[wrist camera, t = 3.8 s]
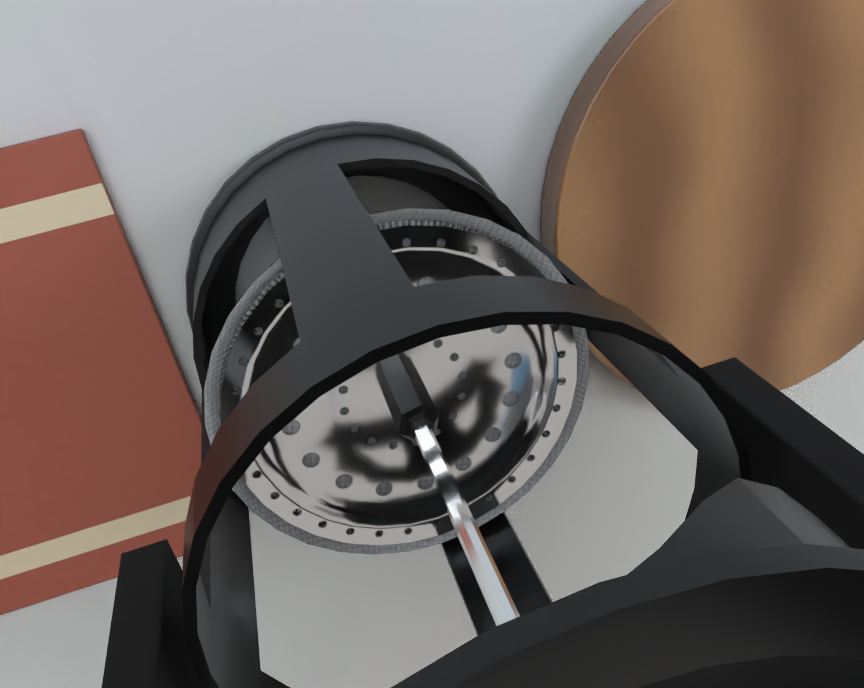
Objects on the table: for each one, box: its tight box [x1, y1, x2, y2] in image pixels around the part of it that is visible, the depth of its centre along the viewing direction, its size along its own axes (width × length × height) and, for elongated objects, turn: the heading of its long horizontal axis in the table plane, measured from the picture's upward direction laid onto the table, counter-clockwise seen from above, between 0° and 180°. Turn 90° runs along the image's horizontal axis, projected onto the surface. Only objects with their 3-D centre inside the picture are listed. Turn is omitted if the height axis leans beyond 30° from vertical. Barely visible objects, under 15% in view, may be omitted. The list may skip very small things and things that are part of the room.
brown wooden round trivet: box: [541, 0, 864, 391], centre depth 24 cm, size 14×14×1 cm
